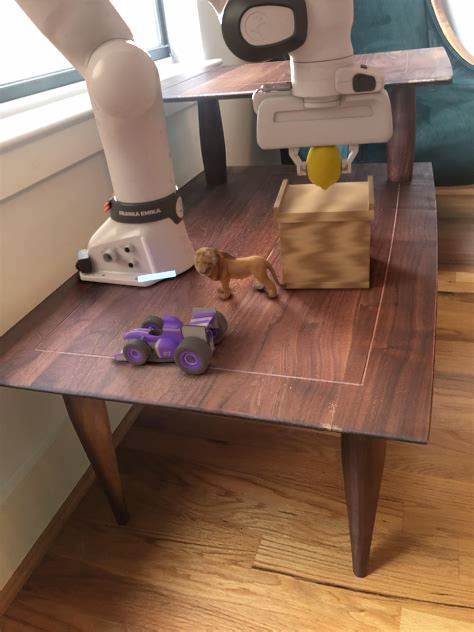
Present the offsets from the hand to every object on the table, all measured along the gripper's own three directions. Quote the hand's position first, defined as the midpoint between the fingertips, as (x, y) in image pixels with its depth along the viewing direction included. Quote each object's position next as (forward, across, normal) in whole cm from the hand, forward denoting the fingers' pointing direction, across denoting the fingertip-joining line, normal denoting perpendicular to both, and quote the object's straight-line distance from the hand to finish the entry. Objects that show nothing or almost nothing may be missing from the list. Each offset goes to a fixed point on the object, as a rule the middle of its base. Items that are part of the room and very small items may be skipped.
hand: (324, 173), depth 86 cm
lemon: (+3, 0, 0) cm, 3 cm away
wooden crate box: (+17, 0, 0) cm, 17 cm away
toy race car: (+18, -21, -25) cm, 37 cm away
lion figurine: (+18, -14, -8) cm, 24 cm away
